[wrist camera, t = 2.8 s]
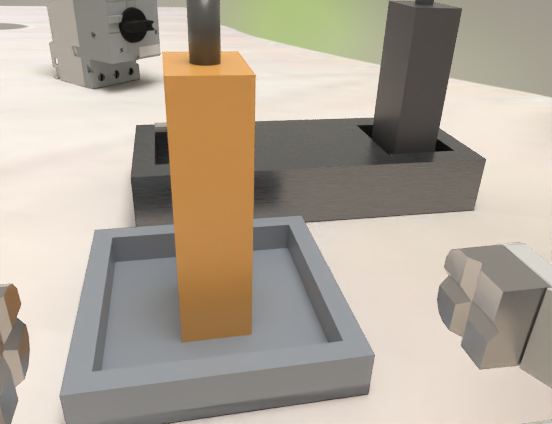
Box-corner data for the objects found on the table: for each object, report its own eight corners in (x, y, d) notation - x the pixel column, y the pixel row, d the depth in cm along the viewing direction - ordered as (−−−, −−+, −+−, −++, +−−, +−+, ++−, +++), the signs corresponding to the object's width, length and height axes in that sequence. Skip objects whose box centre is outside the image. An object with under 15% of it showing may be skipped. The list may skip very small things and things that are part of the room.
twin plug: (404, 156, 42) (436, -36, 35) (429, 177, 38) (470, -33, 32) (368, 158, 41) (394, -37, 35) (390, 179, 38) (423, -35, 31)
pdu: (413, 159, 46) (421, 114, 44) (473, 209, 37) (486, 156, 35) (141, 172, 41) (136, 122, 39) (136, 234, 32) (130, 174, 30)
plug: (238, 280, 27) (238, -10, 21) (251, 334, 24) (256, 2, 17) (178, 285, 27) (158, -11, 20) (182, 342, 23) (158, 0, 16)
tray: (299, 246, 32) (301, 215, 31) (368, 393, 21) (374, 354, 20) (99, 262, 29) (94, 229, 28) (69, 437, 19) (59, 396, 18)
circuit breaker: (125, 98, 60) (110, -43, 53) (55, 78, 67) (33, -48, 60) (171, 86, 66) (163, -42, 59) (101, 69, 73) (87, -47, 66)
